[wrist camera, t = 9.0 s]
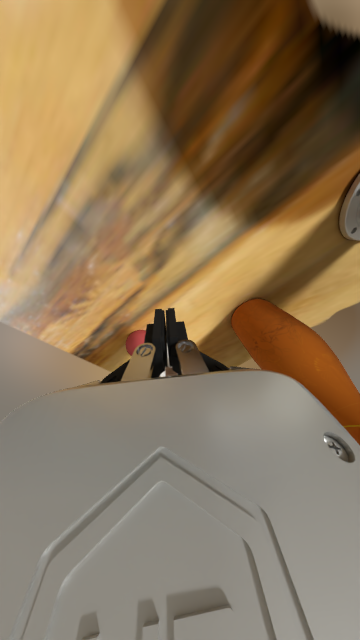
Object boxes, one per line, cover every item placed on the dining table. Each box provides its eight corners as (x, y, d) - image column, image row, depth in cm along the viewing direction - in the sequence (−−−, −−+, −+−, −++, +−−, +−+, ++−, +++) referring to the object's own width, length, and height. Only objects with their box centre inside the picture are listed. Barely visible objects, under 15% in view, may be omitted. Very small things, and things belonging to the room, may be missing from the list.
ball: (159, 352, 31) (157, 351, 26) (134, 362, 30) (126, 363, 25) (151, 329, 33) (147, 322, 27) (127, 338, 32) (117, 333, 26)
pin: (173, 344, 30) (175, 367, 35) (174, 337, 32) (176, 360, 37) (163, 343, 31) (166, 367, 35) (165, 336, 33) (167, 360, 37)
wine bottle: (220, 323, 32) (425, 653, 7) (250, 288, 28) (1053, 808, 3) (248, 337, 35) (451, 589, 10) (278, 307, 31) (742, 613, 6)
